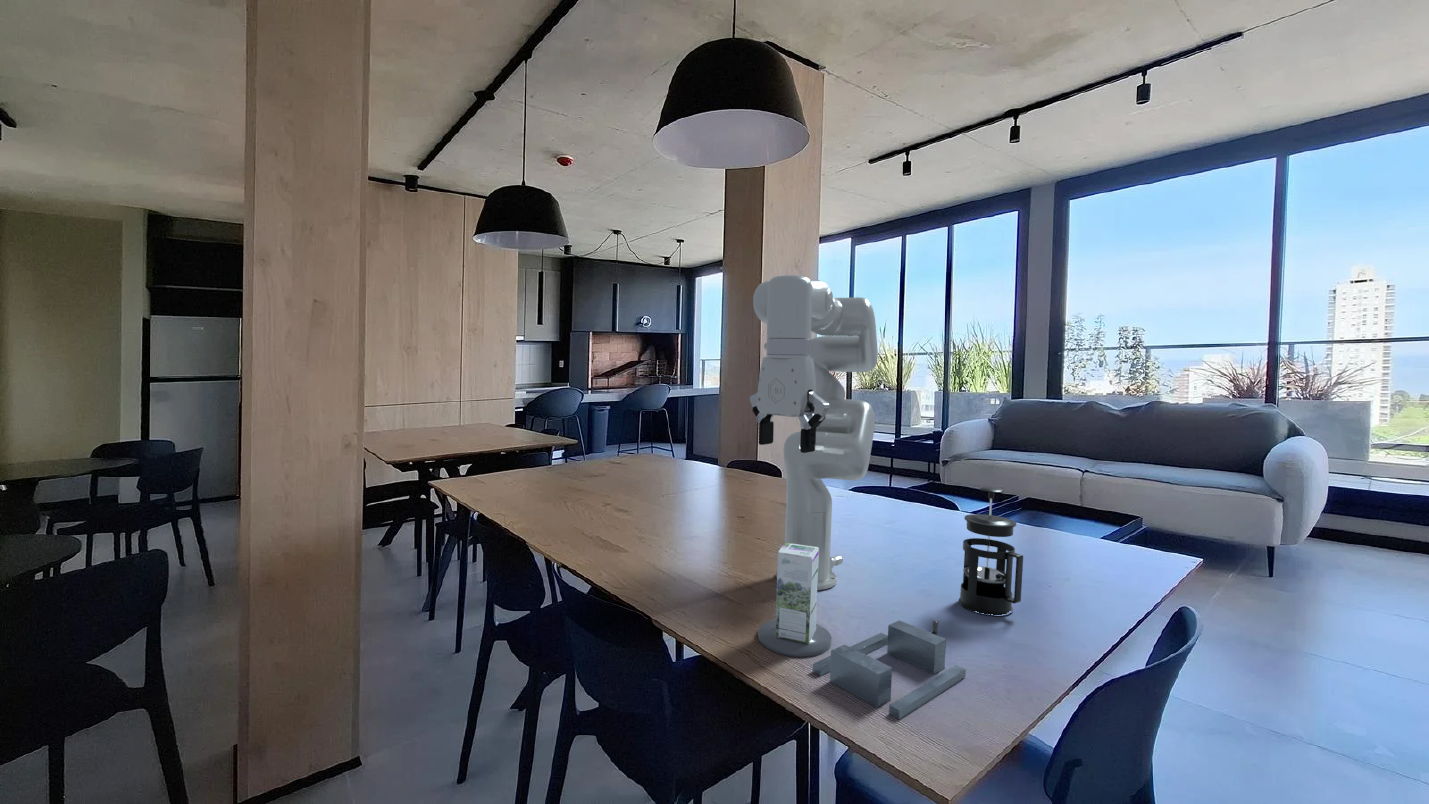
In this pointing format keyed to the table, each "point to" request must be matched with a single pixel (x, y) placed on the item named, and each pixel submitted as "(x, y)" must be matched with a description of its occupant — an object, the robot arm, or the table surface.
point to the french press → (986, 583)
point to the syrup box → (796, 592)
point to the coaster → (794, 642)
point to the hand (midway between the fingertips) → (786, 447)
